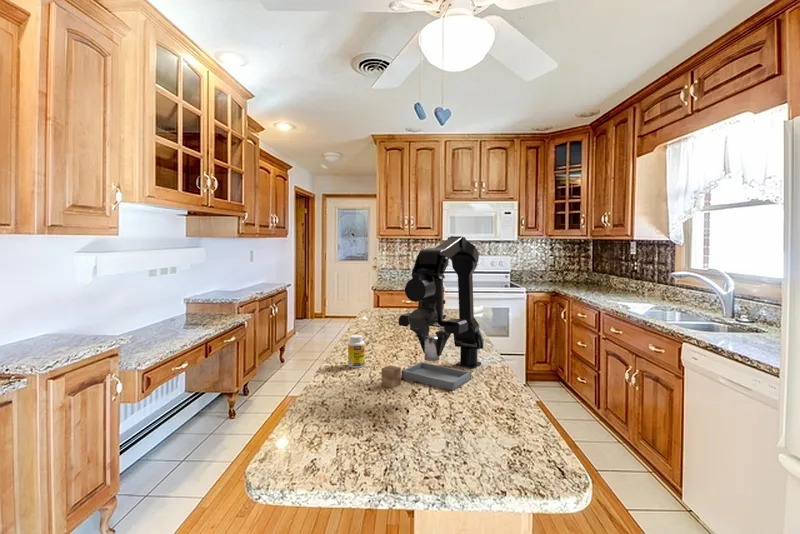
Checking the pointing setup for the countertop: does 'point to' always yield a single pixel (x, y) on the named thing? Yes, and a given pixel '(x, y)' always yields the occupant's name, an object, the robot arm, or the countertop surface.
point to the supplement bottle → (356, 351)
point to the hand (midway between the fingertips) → (432, 354)
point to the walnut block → (391, 376)
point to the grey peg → (431, 348)
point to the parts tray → (437, 375)
